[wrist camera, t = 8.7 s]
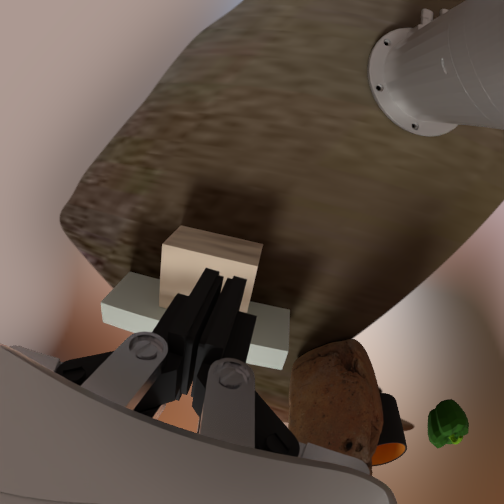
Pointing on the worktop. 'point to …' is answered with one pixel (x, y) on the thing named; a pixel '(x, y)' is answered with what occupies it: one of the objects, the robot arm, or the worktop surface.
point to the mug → (389, 433)
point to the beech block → (205, 262)
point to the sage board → (149, 313)
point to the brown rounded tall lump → (336, 400)
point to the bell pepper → (447, 424)
